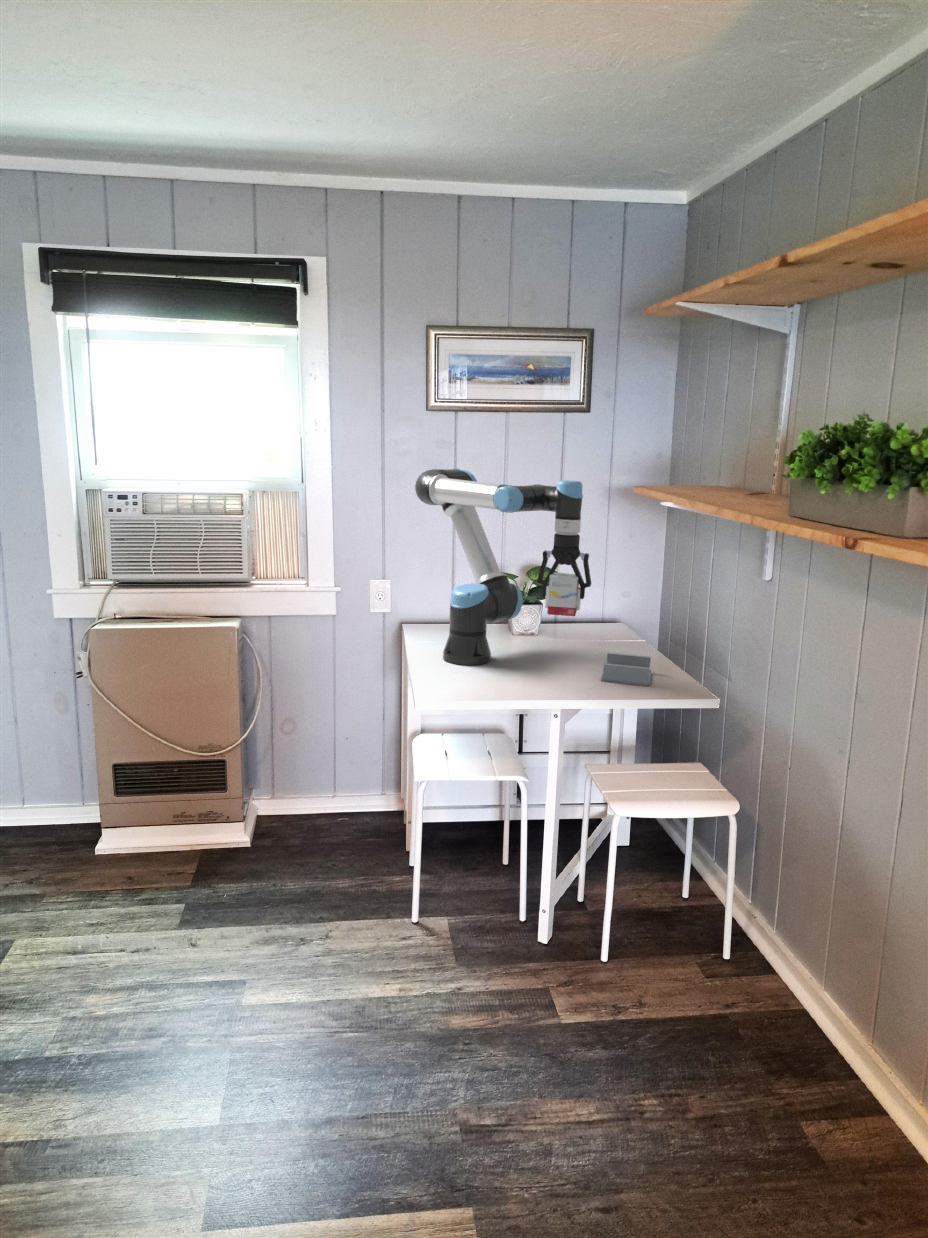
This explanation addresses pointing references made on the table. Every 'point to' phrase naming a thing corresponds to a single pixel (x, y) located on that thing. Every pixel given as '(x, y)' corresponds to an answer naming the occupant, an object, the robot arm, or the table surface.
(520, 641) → the table surface
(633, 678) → the channel holder
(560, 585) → the ink box
